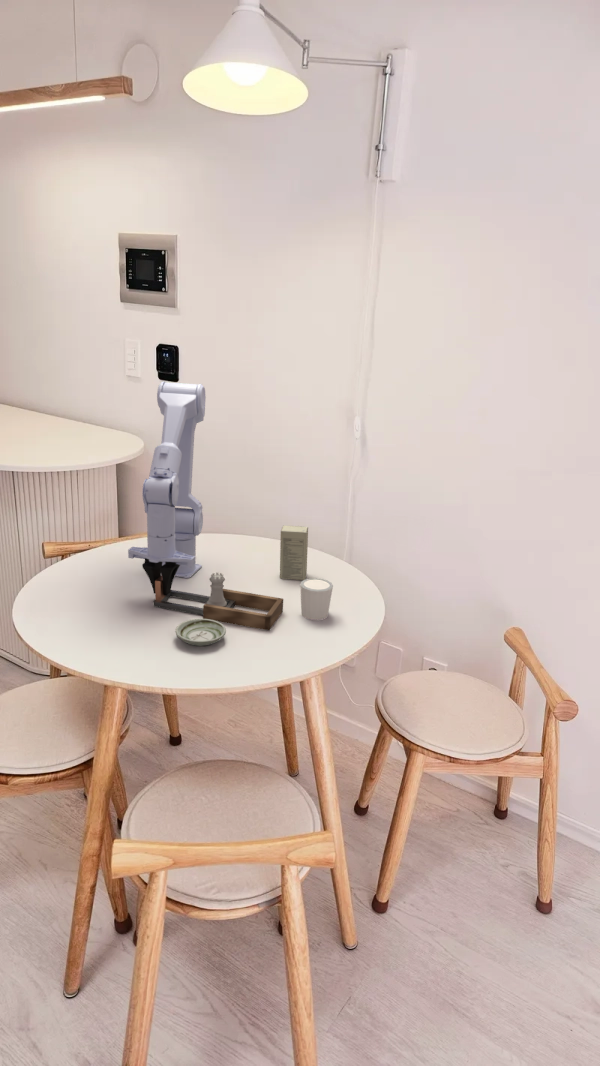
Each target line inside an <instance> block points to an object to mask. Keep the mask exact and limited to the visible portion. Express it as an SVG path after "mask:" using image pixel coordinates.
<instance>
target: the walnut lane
mask: <svg viewBox="0 0 600 1066" xmlns="http://www.w3.org/2000/svg"><path fill="white" fill-rule="evenodd" d="M223 596H224V598H225V599H229V600H234V601H235V607H236V606H237V607H242V608H246V609H247V608H248V609H255V610H258V611H263V612H267V613H262V612H255V611H250V610H243V609H239V608H227V607H222V606H216V605H210V604H207V603H204V604H203V606H202V608H203V615H202V617H203V618H202V619H210V620H215V621H217V622H220V623H223V624H224V623H225V624H230V625H236V626H241V627H248V628H253V629H259V630H264V631H270V630H272V627H274V624H276V622H277V620H278V619H279V618H280V617H281V615H282V614H283V611H284V598H282V597H281V598H280V597H277V596H276V597H275V596H271V595H270V596H269V595H263V594H256V593H253V592H251V593H250V592H246V591H239V590H233V589H228V588H223Z"/></svg>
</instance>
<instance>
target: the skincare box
mask: <svg viewBox="0 0 600 1066" xmlns="http://www.w3.org/2000/svg"><path fill="white" fill-rule="evenodd" d="M308 542H309V526H299V525H282V527H281V529H280V543H279V545H280V550H279V579H282V580H296V581H303V580H305V579H307V574H308V573H307V572H308V545H309V543H308Z"/></svg>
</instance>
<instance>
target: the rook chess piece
mask: <svg viewBox="0 0 600 1066" xmlns="http://www.w3.org/2000/svg"><path fill="white" fill-rule="evenodd" d="M225 581H226V578H225V577H224V574H223V573H222V572H221V573H219V572H216V573H214V572H213V573H212V574H211V575H210V578H209V582H210V589H211V590H210V595H209V596H210V598H209V600H208V601H207V603H206V604H210V605H216V606H222V607H226V605H227V602H226V601H225V598H224V596H223V589H224V586H225V585H224V582H225Z"/></svg>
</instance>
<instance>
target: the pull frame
mask: <svg viewBox="0 0 600 1066" xmlns="http://www.w3.org/2000/svg"><path fill="white" fill-rule="evenodd" d="M154 595H155V598H154V600H153V607H154V608H160V609H166V610H171V611H176V612H182V613H188V614H194V615H200V616H203V607H198V606H192V605H186V604H181V603H174V602H170V601H168V600H169V599H170V598H171V597H172V598H178V599H184V600H185V599H186V600H190V601H194V602H195V601H198V602H201V603H205V604H207V601H208V600H209V598H210V595H205V594H199V593H191V592H186V591H180V590H174V589H171V592H170V593H169V594H168V595H167V596H166V595H164V594H163V578H162V575H161V576H160V577H159V578H158V579H157V580H155V594H154ZM225 601H226V602H227V605H226V607H227V608H233V609H235V607H236V606H235V601H234V600H229V599H225Z"/></svg>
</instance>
